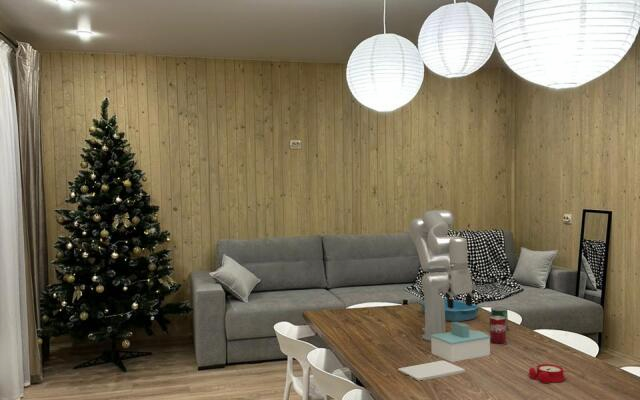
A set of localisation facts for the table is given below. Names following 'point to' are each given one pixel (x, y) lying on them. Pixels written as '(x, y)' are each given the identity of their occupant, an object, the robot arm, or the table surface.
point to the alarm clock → (548, 373)
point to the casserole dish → (458, 311)
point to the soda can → (498, 330)
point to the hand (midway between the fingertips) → (459, 306)
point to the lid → (460, 334)
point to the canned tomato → (500, 313)
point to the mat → (431, 370)
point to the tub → (460, 349)
